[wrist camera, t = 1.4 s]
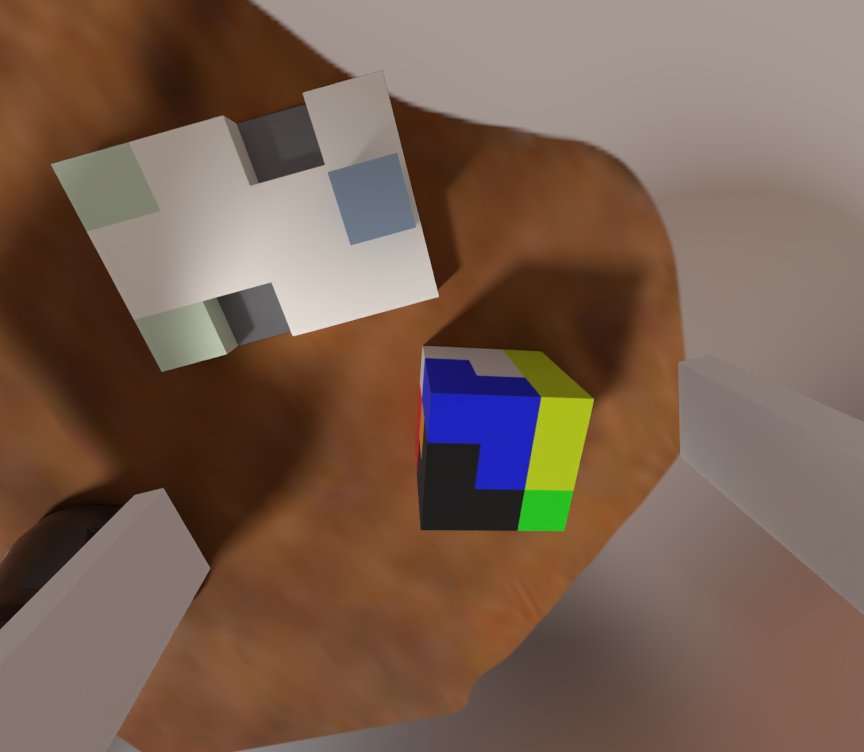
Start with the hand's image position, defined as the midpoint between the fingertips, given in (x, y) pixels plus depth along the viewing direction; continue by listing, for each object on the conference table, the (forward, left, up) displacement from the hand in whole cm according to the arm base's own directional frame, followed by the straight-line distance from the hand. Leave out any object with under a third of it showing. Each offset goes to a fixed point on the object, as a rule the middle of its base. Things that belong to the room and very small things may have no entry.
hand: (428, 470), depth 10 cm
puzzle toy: (+3, -10, -23) cm, 26 cm away
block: (0, +7, -21) cm, 22 cm away
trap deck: (-8, +7, -23) cm, 26 cm away
